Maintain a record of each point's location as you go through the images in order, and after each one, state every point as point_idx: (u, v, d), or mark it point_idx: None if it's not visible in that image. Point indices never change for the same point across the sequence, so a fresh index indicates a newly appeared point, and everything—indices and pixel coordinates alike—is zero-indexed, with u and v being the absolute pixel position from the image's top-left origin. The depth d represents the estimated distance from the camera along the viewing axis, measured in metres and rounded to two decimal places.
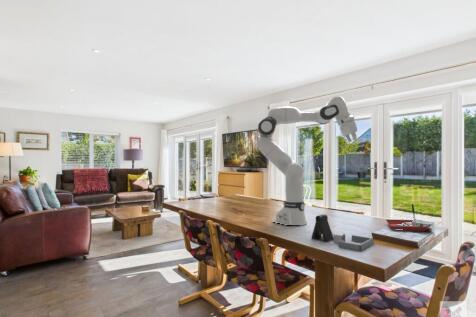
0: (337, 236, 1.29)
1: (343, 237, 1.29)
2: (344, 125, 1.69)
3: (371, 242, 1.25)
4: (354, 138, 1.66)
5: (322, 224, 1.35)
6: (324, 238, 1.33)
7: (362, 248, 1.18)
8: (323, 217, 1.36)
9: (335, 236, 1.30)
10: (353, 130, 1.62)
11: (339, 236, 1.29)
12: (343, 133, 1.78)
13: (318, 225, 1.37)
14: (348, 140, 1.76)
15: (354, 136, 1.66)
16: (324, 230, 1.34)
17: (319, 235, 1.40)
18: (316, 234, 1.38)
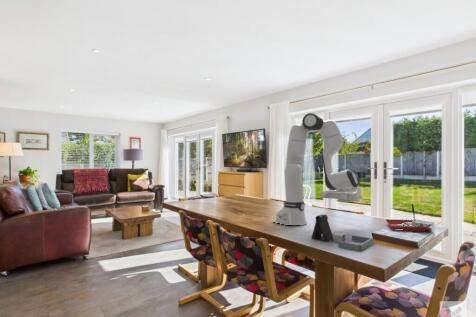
0: (337, 236, 1.29)
1: (343, 237, 1.29)
2: (348, 190, 1.51)
3: (371, 242, 1.25)
4: (343, 196, 1.43)
5: (322, 224, 1.35)
6: (324, 238, 1.33)
7: (362, 248, 1.18)
8: (323, 217, 1.36)
9: (335, 236, 1.30)
10: (355, 195, 1.43)
11: (339, 236, 1.29)
12: (328, 191, 1.55)
13: (318, 225, 1.37)
14: (325, 194, 1.50)
15: (345, 197, 1.43)
16: (324, 230, 1.34)
17: (319, 235, 1.40)
18: (316, 234, 1.38)
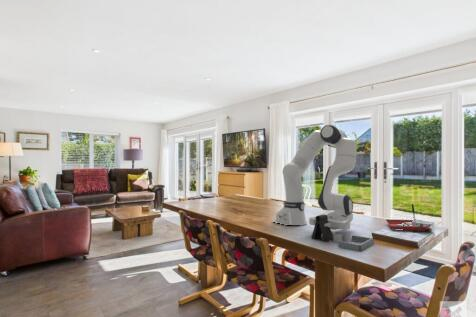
0: (337, 236, 1.29)
1: (343, 237, 1.29)
2: (338, 218, 1.41)
3: (371, 242, 1.25)
4: (326, 225, 1.36)
5: (322, 224, 1.35)
6: (324, 238, 1.33)
7: (362, 248, 1.18)
8: (323, 217, 1.36)
9: (335, 236, 1.30)
10: (345, 224, 1.33)
11: (339, 236, 1.29)
12: None
13: (318, 225, 1.37)
14: None
15: (328, 225, 1.36)
16: (324, 230, 1.34)
17: (319, 235, 1.40)
18: (316, 234, 1.38)
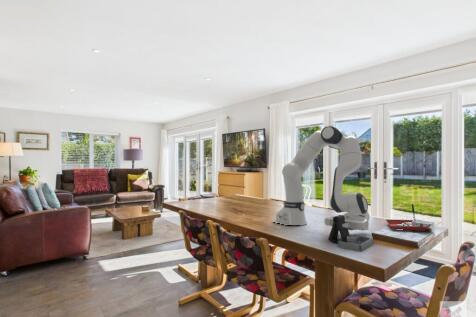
0: (351, 238, 1.25)
1: (357, 239, 1.24)
2: (355, 218, 1.35)
3: (371, 242, 1.25)
4: (343, 225, 1.29)
5: (340, 225, 1.28)
6: (343, 240, 1.26)
7: (362, 248, 1.18)
8: (341, 218, 1.30)
9: (348, 238, 1.25)
10: (364, 224, 1.27)
11: (353, 238, 1.24)
12: None
13: (335, 226, 1.31)
14: None
15: (345, 226, 1.30)
16: (343, 231, 1.27)
17: (336, 236, 1.33)
18: (333, 236, 1.31)
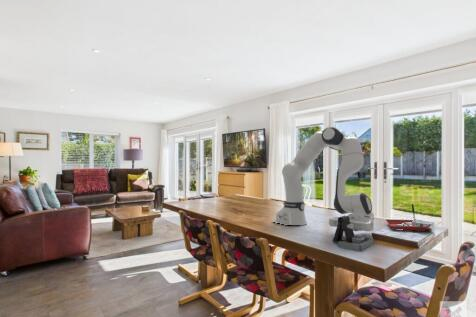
0: (356, 239, 1.23)
1: (362, 240, 1.23)
2: (360, 218, 1.33)
3: (371, 242, 1.25)
4: (348, 226, 1.28)
5: (345, 226, 1.26)
6: (348, 241, 1.24)
7: (362, 248, 1.18)
8: (346, 218, 1.28)
9: (354, 239, 1.24)
10: (370, 225, 1.25)
11: (358, 239, 1.22)
12: (337, 219, 1.37)
13: (340, 227, 1.29)
14: None
15: (350, 226, 1.28)
16: (348, 232, 1.26)
17: (340, 237, 1.31)
18: (338, 237, 1.29)
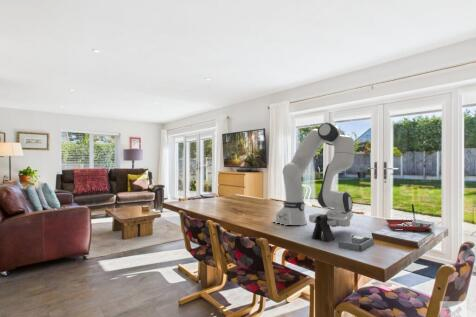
0: (356, 239, 1.23)
1: (362, 240, 1.23)
2: (337, 215, 1.41)
3: (371, 242, 1.25)
4: (331, 222, 1.34)
5: (323, 224, 1.35)
6: (325, 238, 1.33)
7: (362, 248, 1.18)
8: (323, 217, 1.36)
9: (354, 239, 1.24)
10: (345, 221, 1.34)
11: (358, 239, 1.22)
12: (317, 215, 1.45)
13: (319, 225, 1.37)
14: (315, 219, 1.40)
15: (333, 223, 1.34)
16: (325, 230, 1.34)
17: (319, 235, 1.40)
18: (316, 234, 1.37)
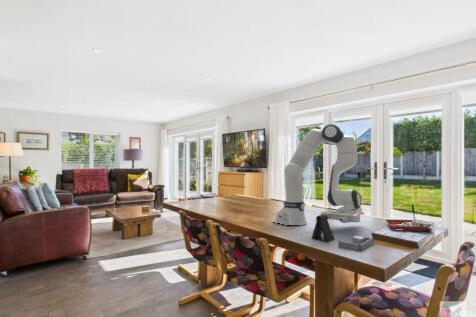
0: (356, 239, 1.23)
1: (362, 240, 1.23)
2: (348, 211, 1.50)
3: (371, 242, 1.25)
4: (343, 219, 1.42)
5: (323, 224, 1.35)
6: (325, 238, 1.33)
7: (362, 248, 1.18)
8: (323, 217, 1.36)
9: (354, 239, 1.24)
10: (356, 217, 1.42)
11: (358, 239, 1.22)
12: (328, 212, 1.54)
13: (319, 225, 1.37)
14: None
15: (345, 219, 1.43)
16: (325, 230, 1.34)
17: (319, 235, 1.40)
18: (316, 234, 1.37)
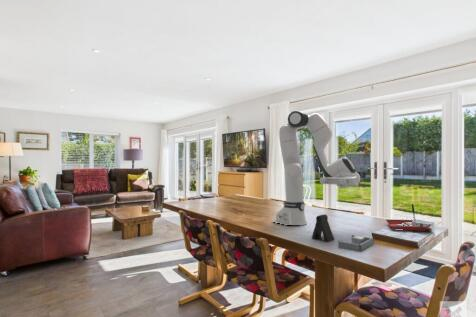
0: (356, 239, 1.23)
1: (362, 240, 1.23)
2: (347, 176, 1.51)
3: (371, 242, 1.25)
4: (342, 181, 1.43)
5: (323, 224, 1.35)
6: (325, 238, 1.33)
7: (362, 248, 1.18)
8: (323, 217, 1.36)
9: (354, 239, 1.24)
10: (355, 179, 1.43)
11: (358, 239, 1.22)
12: (327, 177, 1.55)
13: (319, 225, 1.37)
14: (325, 179, 1.50)
15: (344, 182, 1.44)
16: (325, 230, 1.34)
17: (319, 235, 1.40)
18: (316, 234, 1.37)
